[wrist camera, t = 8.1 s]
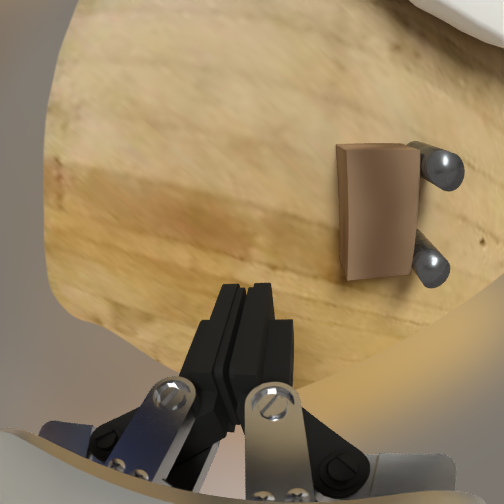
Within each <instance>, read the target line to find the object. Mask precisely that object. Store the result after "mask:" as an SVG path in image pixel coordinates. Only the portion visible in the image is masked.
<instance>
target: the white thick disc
mask: <svg viewBox="0 0 504 504" xmlns="http://www.w3.org/2000/svg"><path fill="white" fill-rule="evenodd" d="M409 1H410V2H411V3H413V4H414V5H415V6H416V7H418V8H420V9H422V10H424V11H426V12H428V13H430V14H432V15H434V16H435V17H437V18H439V19H441V20H443V21H445V22H446V23H448V24H450V25H452V26H453V27H455V28H457V29H458V30H460V31H462V32H464V33H466V34H468V35H470V36H473V37H475V38H477V39H479V40H481V41H483V42H485V43H488V44H491V45H495V46H498V47H501V48H504V0H409Z"/></svg>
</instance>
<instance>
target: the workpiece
mask: <svg viewBox="0 0 504 504" xmlns="http://www.w3.org/2000/svg"><path fill="white" fill-rule="evenodd" d="M336 152H337V168H338V188H339V226H340V261H341V264H342V267H343V270H344V273H345V275H346V278H347V281H349V280H359V279H369V278H379V277H389V276H398V275H407V274H411V268H412V261H413V254H414V246H415V237H416V228H417V217H418V204H419V185H420V150H418V149H415V148H412V147H410V146H407V145H404V144H399V143H364V144H336Z"/></svg>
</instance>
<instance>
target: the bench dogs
mask: <svg viewBox="0 0 504 504" xmlns="http://www.w3.org/2000/svg"><path fill="white" fill-rule="evenodd" d="M407 146H410V147H412V148H415V149H418V150H420V177H422V178H424V179H426V180H427V181H429V182H431V183H432V184H434V185H436V186H437V187H439V188H441V189H442V190H444V191H453V190H455V189H457V188H458V187H459V186H460V185H461V183H462V181H463V178H464V165H463V162H462V160H461V159H460V157H459V156H458V155H456V154H454V153H451V152H449V151H446V150H443V149H440V148H437V147H434V146H431V145H428V144H425V143H422V142H418V141H413V142H410V143H409V144H407ZM412 268H413V270H414V271H415V273H416V274H417V276H418V277H419V279H420V280H421V282H422V283H423V285H424V286H425V287H427V288H436V287H438V286H440V285H441V284H443V283H444V282H445V281H446V279H447V278H448V276H449V273H450V264H449V262H448V261H447V260H446V259H445V258H444V257H443V255H442V254H441V253H440V252H439V251H438V250H437V249H436V248H435V247H434V245H433V244H432V243H431V242H430V241H429V240H428V239H427V238H426V237H425V236H424V235H423V234H422V233H421V232H420V231H419V230H418V229H416V237H415V246H414V254H413V261H412Z"/></svg>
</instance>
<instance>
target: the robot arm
mask: <svg viewBox="0 0 504 504" xmlns="http://www.w3.org/2000/svg"><path fill="white" fill-rule="evenodd" d="M293 364H294V331H293V319H288V320H275V316H274V306H273V297H272V288H271V283H255V284H254V287H249V288H248V292H247V295H246V290H245V288H240V285H239V284H223V285H222V287H221V290H220V293H219V295H218V298H217V301H216V303H215V306H214V309H213V312H212V314H211V317H210V320H202V321H201V322H200V324H199V326H198V329H197V331H196V334H195V336H194V339H193V341H192V344H191V346H190V349H189V351H188V354H187V356H186V359H185V361H184V364H183V367H182V369H181V372H180V374H179V376H172V377H167V378H164V379H162V380H160V381H159V382H157V383H156V384H155V385H154V386H153V387H152V388H151V390H150V391H149V393H148V394H147V396H146V398H145V399H144V401H143V402H142V404H141V405H140V407H138V408H136V409H134V410H132V411H130V412H128V413H126V414H124V415H122V416H120V417H118V418H116V419H113V420H111V421H109V422H107V423H105V424H103V425H101V426H99V427H98V428H95V427H94V426H93V425H86V424H76V423H68V422H61V421H49V422H47V423H45V424H44V425H43V426H42V428H41V430H40V432H39V435H35V434H33V433H31V432H28V431H25V430H22V429H16V428H0V504H486V503H485V502H484V501H483V500H482V499H481V498H480V497H478V496H476V495H473V494H470V493H465V492H458V491H455V483H456V465H455V463H454V461H453V460H452V458H450V457H449V456H447V455H444V454H388V453H379V454H378V455H368V454H363V453H362V452H361V451H360V450H359V449H357V448H356V447H354V446H353V445H351V444H350V443H349V442H347V441H346V440H344V439H343V438H342V437H340V436H339V435H338V434H336V433H335V432H334V431H332V430H331V429H330V428H328V427H327V426H326V425H324V424H323V423H322V422H320V421H319V420H318V419H317V418H315V417H314V416H313V415H311V414H310V413H309V412H308V411H306V410H305V409H304V408H302V407H301V401H300V397H299V395H298V393H297V391H296V390H295V389H294V388H293V387H292V386H293ZM240 424H241V427H242V429H243V432H244V435H245V490H246V491H245V493H246V494H245V495H246V500H242V499H233V498H225V497H218V496H212V495H206V494H200V493H199V491H200V489H201V486H202V484H203V482H204V480H205V478H206V475H207V473H208V471H209V468H210V466H211V463H212V461H213V459H214V457H215V454H216V452H217V449H218V447H219V443H220V440H221V439H222V438H225V437H226V434H227V432H234V430H235V425H240Z"/></svg>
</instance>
